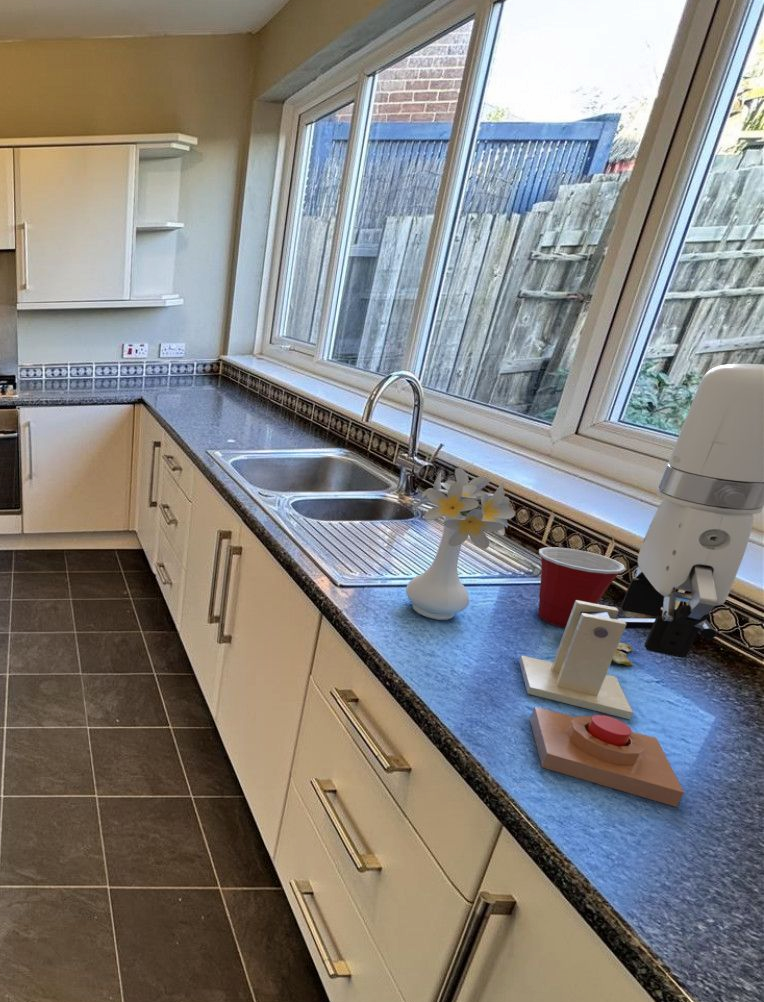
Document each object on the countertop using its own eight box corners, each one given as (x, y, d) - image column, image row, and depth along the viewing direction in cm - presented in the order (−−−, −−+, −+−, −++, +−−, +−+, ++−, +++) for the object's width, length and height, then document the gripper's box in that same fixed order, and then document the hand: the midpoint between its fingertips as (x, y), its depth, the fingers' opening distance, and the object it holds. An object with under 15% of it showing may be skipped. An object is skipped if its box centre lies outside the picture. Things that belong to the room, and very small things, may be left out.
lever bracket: (613, 683, 90) (644, 607, 85) (630, 719, 83) (666, 638, 78) (518, 661, 95) (543, 588, 90) (527, 693, 88) (554, 616, 83)
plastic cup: (589, 611, 108) (612, 549, 104) (610, 642, 99) (637, 576, 95) (513, 598, 113) (532, 538, 108) (526, 627, 104) (548, 563, 100)
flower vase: (413, 637, 102) (449, 495, 92) (380, 585, 118) (408, 460, 109) (503, 647, 99) (551, 501, 89) (456, 592, 115) (492, 464, 106)
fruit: (632, 671, 92) (641, 650, 91) (560, 650, 98) (567, 630, 96) (631, 647, 98) (639, 627, 97) (563, 628, 103) (570, 609, 102)
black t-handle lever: (702, 623, 81) (702, 607, 80) (716, 642, 77) (717, 625, 76) (578, 622, 88) (578, 607, 87) (586, 639, 84) (585, 623, 83)
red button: (622, 732, 75) (627, 720, 75) (630, 750, 73) (635, 739, 72) (584, 722, 77) (588, 710, 76) (590, 739, 74) (595, 728, 74)
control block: (650, 751, 77) (662, 726, 76) (677, 807, 69) (690, 780, 68) (529, 719, 83) (538, 695, 82) (541, 767, 75) (551, 741, 74)
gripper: (809, 523, 54) (728, 683, 61) (730, 471, 68) (671, 606, 74) (691, 508, 58) (626, 661, 64) (638, 461, 72) (589, 591, 78)
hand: (650, 631), depth 69 cm, fingers open, 9 cm apart
